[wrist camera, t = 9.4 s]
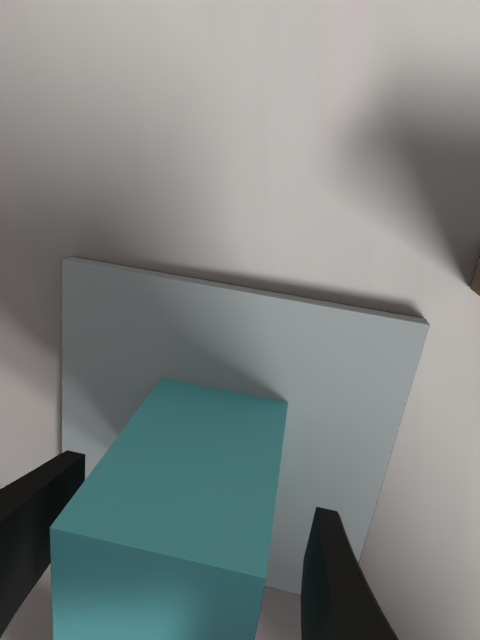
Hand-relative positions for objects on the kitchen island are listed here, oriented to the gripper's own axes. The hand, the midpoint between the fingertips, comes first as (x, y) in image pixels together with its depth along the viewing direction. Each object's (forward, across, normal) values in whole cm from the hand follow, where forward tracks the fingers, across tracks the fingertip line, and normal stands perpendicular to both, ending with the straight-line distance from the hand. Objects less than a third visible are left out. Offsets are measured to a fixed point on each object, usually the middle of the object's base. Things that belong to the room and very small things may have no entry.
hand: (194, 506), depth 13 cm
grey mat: (+4, 0, 0) cm, 4 cm away
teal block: (+3, 0, 0) cm, 3 cm away
